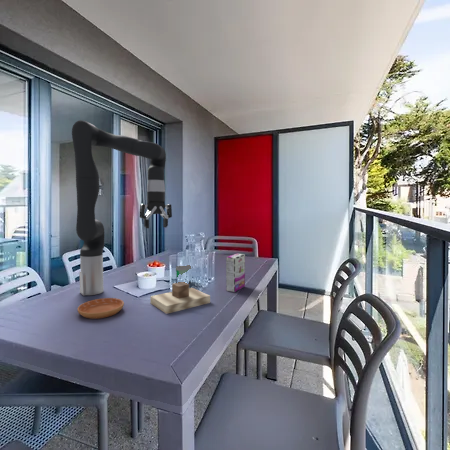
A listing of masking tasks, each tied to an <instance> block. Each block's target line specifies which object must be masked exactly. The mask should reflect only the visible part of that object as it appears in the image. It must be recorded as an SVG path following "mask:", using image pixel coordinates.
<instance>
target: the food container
mask: <svg viewBox="0 0 450 450" xmlns="http://www.w3.org/2000/svg"><path fill="white" fill-rule="evenodd" d="M189 269H191V270H192V268H191V266H190V265H187V266H180V265H176V266H175V272H176V273H175V274H176V278H177V277H178V275H179V274H181V275H182V274H183V273H185V272H187V271H188V270H189Z"/></svg>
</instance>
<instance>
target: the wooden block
mask: <svg viewBox="0 0 450 450" xmlns="http://www.w3.org/2000/svg"><path fill="white" fill-rule="evenodd" d="M210 303H211V295H210V294H207V293H205V292H202V291H200V290H199V289H196V288H194V287H189V296H188V297H184V298H179V299H178V298H176V297H174V296H172V291H170V292H165V293H160V294H156V295H151V296H150V305H152V306H153V307H155V308H157V309H158V310H160V311H162V313H165V314H166V315H167V314H171V313H175V312H179V311H180V312H181V311H183V310H188V309H191V308H195V307H199V306H203V305H207V304H210Z"/></svg>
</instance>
